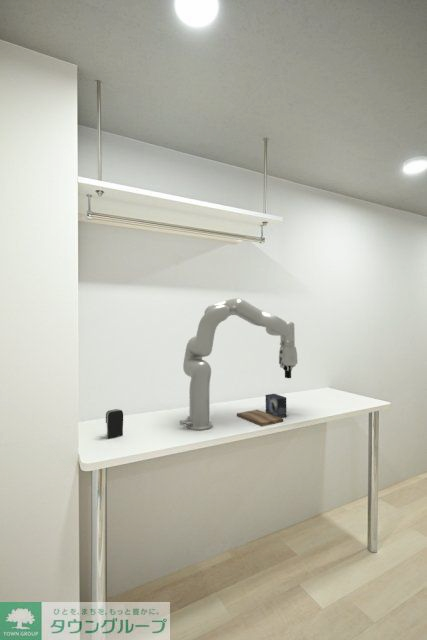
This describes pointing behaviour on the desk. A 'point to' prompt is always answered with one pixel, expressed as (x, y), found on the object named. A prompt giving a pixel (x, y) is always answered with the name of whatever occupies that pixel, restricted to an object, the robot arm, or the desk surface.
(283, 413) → the small box
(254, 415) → the board
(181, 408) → the desk surface
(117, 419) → the battery charger
